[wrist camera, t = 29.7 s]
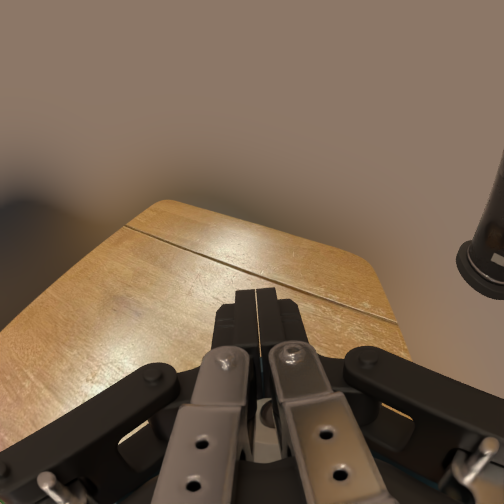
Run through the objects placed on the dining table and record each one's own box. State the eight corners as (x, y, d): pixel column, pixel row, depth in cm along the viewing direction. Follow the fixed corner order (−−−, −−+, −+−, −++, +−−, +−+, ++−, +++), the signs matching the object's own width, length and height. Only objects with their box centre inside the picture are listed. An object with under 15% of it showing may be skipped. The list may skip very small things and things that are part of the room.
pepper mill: (308, 498, 19) (319, 381, 17) (303, 540, 15) (319, 428, 13) (252, 494, 20) (244, 378, 18) (239, 535, 16) (224, 423, 14)
